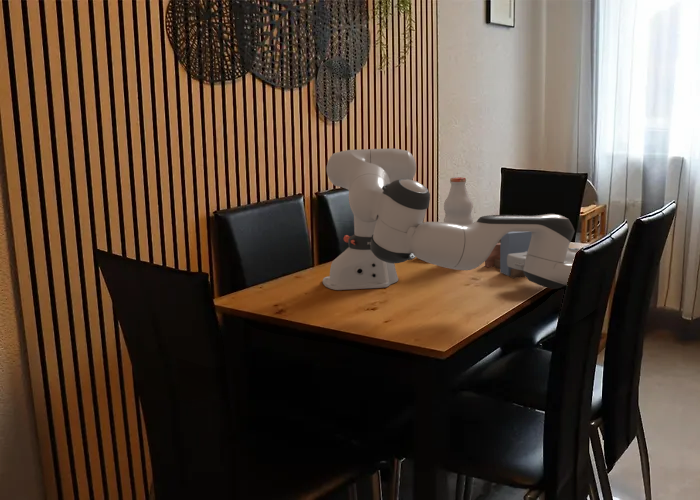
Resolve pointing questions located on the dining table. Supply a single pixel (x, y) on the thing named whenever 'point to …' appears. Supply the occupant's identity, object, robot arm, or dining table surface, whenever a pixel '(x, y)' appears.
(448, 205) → the fruit juice
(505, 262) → the block
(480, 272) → the dining table surface
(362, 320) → the dining table surface
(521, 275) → the rail
